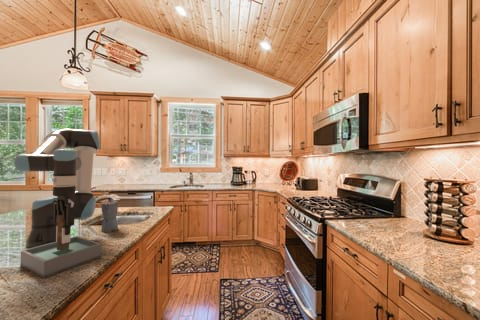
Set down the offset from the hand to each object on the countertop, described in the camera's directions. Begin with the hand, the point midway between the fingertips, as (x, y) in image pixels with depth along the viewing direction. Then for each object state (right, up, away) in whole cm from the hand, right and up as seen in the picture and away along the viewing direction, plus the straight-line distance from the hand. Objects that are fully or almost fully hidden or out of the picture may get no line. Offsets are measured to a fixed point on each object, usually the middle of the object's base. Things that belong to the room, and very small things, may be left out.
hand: (63, 241), depth 90 cm
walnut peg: (0, -3, 0) cm, 3 cm away
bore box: (0, -8, 0) cm, 8 cm away
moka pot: (-6, -9, +43) cm, 44 cm away
